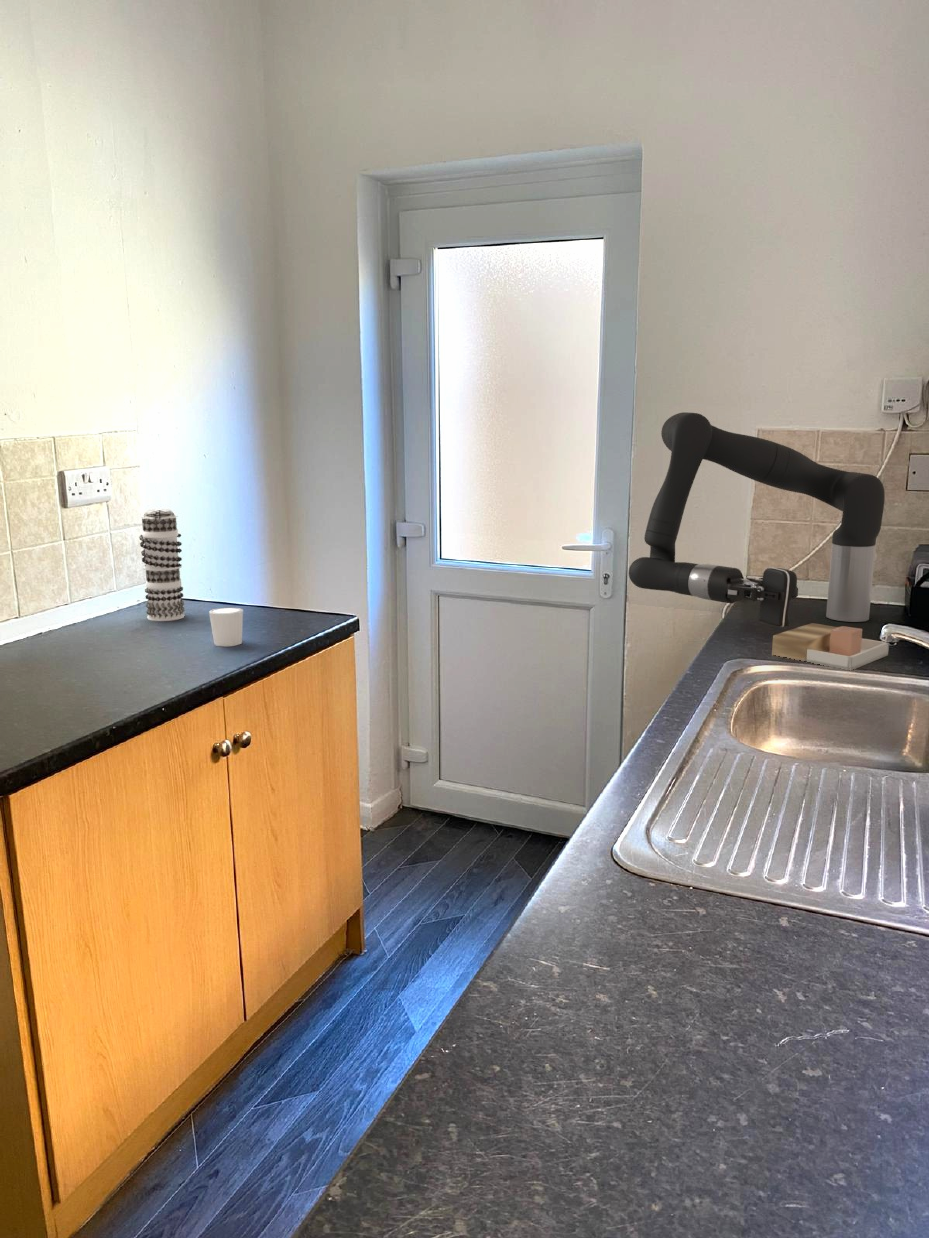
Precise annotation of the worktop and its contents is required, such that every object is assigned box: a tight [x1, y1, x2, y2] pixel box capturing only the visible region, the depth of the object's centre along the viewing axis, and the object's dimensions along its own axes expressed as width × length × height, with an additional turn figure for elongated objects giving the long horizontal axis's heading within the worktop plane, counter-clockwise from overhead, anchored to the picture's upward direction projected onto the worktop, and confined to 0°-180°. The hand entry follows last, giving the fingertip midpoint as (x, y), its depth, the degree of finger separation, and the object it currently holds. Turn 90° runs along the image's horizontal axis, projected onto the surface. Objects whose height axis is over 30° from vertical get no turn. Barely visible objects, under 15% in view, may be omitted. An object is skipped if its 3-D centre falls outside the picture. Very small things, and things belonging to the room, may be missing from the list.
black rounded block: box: [758, 567, 798, 628], centre depth 194 cm, size 7×4×11 cm, turn 23°
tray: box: [806, 637, 890, 672], centre depth 185 cm, size 17×9×2 cm, turn 134°
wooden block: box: [771, 622, 839, 662], centre depth 191 cm, size 16×7×4 cm, turn 134°
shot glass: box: [208, 607, 244, 647], centre depth 198 cm, size 7×7×7 cm
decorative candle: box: [138, 508, 185, 622], centre depth 221 cm, size 9×9×25 cm
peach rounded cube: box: [829, 625, 863, 656], centre depth 185 cm, size 5×5×4 cm
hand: (789, 594), depth 192 cm, fingers closed on black rounded block, 5 cm apart
